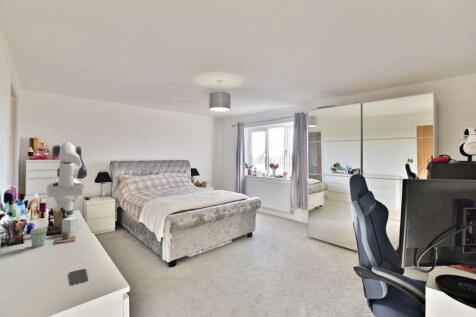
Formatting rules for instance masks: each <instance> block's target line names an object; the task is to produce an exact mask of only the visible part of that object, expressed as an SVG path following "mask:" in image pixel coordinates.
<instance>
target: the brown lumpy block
mask: <svg viewBox="0 0 476 317" xmlns="http://www.w3.org/2000/svg"><path fill="white" fill-rule="evenodd" d="M65 211H66V210H65V209H63V208H61V209H60V210H57V209H55V210H54V209H53V208H51V209H50V210H49V211H48V212H47V214H48V217H47V220H48V222H47V223H48V224H47V228H46V229H47V231H46V235H50V236H53V235H55V234H56V235H57V234H62V227H61V226H62V220H63V219H65V217H66V216H65Z"/></svg>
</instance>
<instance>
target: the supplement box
mask: <svg viewBox="0 0 476 317" xmlns="http://www.w3.org/2000/svg"><path fill="white" fill-rule="evenodd" d="M78 222H79V218H78V217H75V218H71V217H70V218H66V219H63V220H62V233H61V235H62V234H63V232H66V231H68V237H69V236H75V235H76V234H79V233H78V230H79V229H78V227H79V223H78Z"/></svg>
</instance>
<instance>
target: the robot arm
mask: <svg viewBox="0 0 476 317" xmlns="http://www.w3.org/2000/svg"><path fill="white" fill-rule="evenodd" d="M83 151H84V150H83V149H82V147H81V146H77V145H74V144H73V143H72V142H68V141H67V142H66V141H65V142H63V143H62V144H61V145H54V146H53V147H52V148H51V154H52V156H53V158H60V161H59V163H58V164H59V165H58V168H57V171H56V172H57V174H56V175H57V176H56V177H58V181H55V182H53V183H49V184H48V185H47V187H46V192H47V197H48V198H53V199H54V201H55V204H56V210H60V209H61V208H63V209H65V210H66V211H65V216H66V217H65V219H66V218H70V217H71V218H76V215H75V214H74V203H75V202H76V199H77V198H78V196H80V197H81V196H83V194H84V192H83V191H84V184H83V183H82V182H80V181H79V180H83V179H84V178H86V177H87V175H88V169H87V167H86V166H85V163H84V161H83V158H82V155H83ZM75 164H76V165H77V166H75ZM73 196H74V199H72V198H68V197H73ZM61 227H62V226H61Z"/></svg>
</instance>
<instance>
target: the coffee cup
mask: <svg viewBox="0 0 476 317" xmlns="http://www.w3.org/2000/svg"><path fill="white" fill-rule="evenodd" d="M47 229H48V228H47V227H46V226H41V227H40V226H39V227H34V228H32V229H31V230H30V232H29V233H30V239H31V246H32V248H33V249H36V248H40V247H44V246H45V241H46V238H47V237H46V235H47V234H46V231H47Z"/></svg>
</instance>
